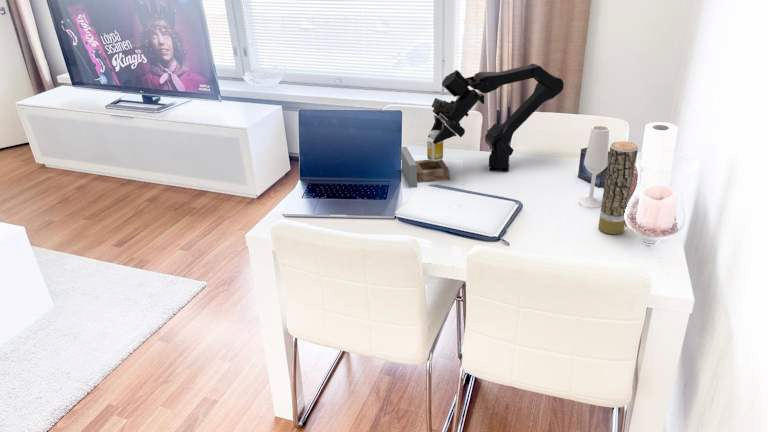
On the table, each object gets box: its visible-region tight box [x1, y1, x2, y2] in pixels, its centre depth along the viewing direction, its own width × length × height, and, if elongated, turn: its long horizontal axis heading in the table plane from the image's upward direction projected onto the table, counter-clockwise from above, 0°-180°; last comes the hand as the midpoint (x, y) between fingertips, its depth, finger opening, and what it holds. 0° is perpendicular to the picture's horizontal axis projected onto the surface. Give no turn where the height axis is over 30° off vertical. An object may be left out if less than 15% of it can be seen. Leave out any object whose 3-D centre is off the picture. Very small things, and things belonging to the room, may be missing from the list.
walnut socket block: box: [414, 159, 450, 184], centre depth 203 cm, size 11×11×4 cm
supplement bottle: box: [426, 130, 444, 161], centre depth 198 cm, size 5×5×10 cm
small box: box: [577, 147, 610, 189], centre depth 193 cm, size 11×6×10 cm, turn 25°
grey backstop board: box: [401, 146, 418, 188], centre depth 201 cm, size 2×18×8 cm, turn 9°
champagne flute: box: [578, 125, 610, 208], centre depth 175 cm, size 7×7×24 cm
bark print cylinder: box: [598, 140, 639, 235], centre depth 159 cm, size 7×7×25 cm
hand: (431, 140), depth 197 cm, fingers closed on supplement bottle, 5 cm apart
